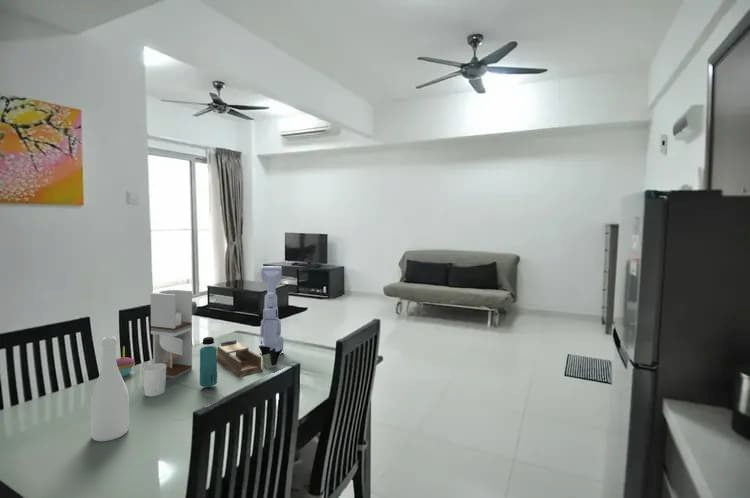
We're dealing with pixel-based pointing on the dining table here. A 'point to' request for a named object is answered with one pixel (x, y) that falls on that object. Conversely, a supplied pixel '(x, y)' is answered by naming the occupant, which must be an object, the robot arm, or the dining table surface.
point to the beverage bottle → (208, 363)
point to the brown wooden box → (240, 362)
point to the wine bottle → (109, 398)
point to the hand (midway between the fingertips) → (269, 362)
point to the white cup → (154, 379)
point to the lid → (232, 346)
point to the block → (267, 361)
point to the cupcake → (125, 364)
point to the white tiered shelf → (172, 330)
